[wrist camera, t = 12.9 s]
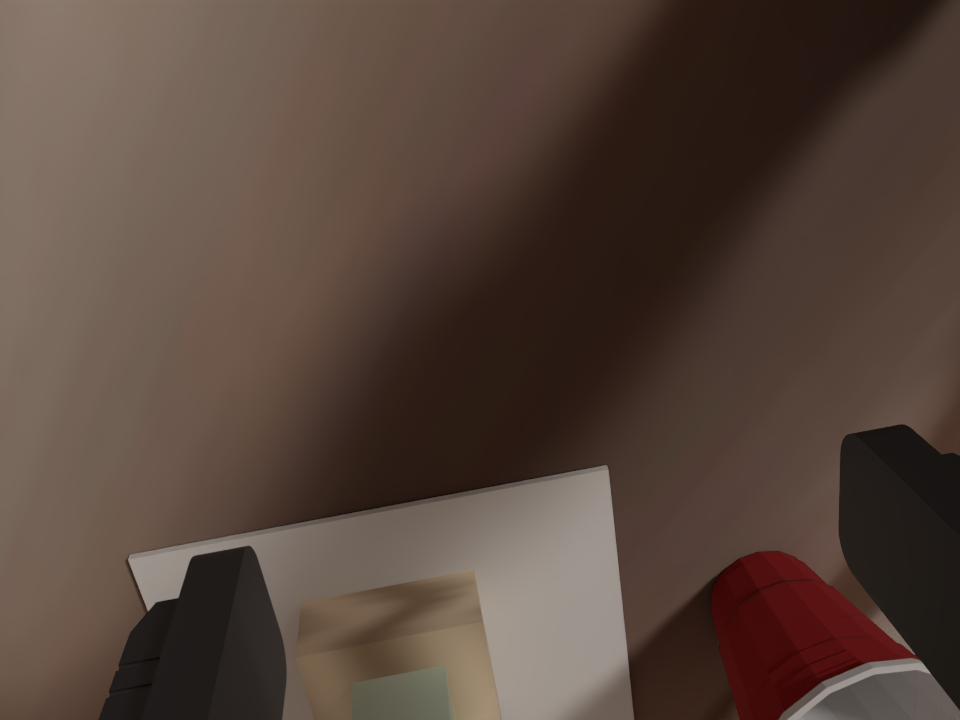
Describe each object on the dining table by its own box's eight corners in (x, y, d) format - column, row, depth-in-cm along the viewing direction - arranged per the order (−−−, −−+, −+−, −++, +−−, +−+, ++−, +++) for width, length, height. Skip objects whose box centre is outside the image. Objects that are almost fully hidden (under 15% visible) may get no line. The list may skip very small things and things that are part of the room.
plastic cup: (855, 647, 52) (983, 830, 41) (673, 683, 51) (754, 877, 41) (861, 491, 47) (1007, 649, 36) (662, 529, 47) (749, 701, 36)
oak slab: (473, 569, 46) (482, 621, 42) (498, 698, 50) (507, 755, 46) (301, 602, 46) (295, 657, 42) (338, 729, 50) (336, 790, 46)
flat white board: (606, 465, 45) (608, 469, 45) (633, 725, 52) (635, 730, 52) (130, 554, 44) (128, 559, 44) (226, 806, 51) (226, 812, 51)
